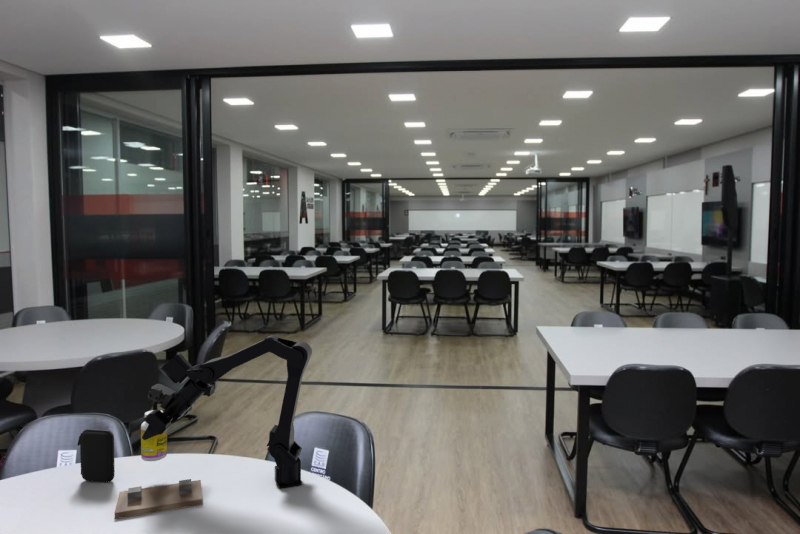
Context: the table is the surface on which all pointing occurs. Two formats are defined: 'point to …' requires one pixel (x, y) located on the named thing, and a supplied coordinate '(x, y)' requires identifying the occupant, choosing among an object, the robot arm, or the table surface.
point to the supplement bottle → (153, 444)
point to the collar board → (158, 498)
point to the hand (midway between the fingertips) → (149, 434)
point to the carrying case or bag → (97, 455)
